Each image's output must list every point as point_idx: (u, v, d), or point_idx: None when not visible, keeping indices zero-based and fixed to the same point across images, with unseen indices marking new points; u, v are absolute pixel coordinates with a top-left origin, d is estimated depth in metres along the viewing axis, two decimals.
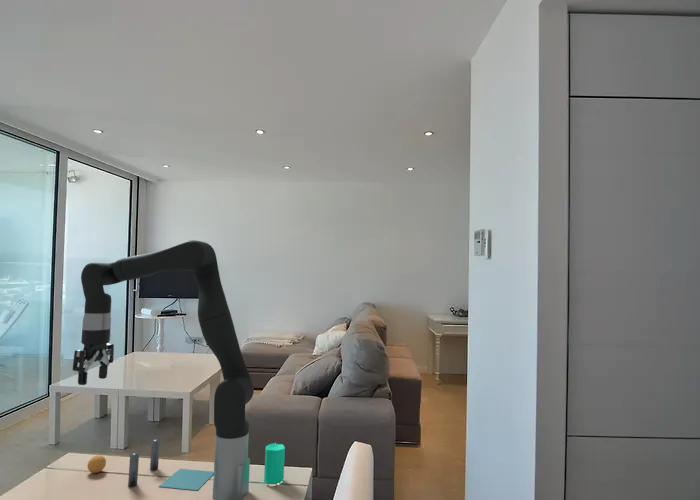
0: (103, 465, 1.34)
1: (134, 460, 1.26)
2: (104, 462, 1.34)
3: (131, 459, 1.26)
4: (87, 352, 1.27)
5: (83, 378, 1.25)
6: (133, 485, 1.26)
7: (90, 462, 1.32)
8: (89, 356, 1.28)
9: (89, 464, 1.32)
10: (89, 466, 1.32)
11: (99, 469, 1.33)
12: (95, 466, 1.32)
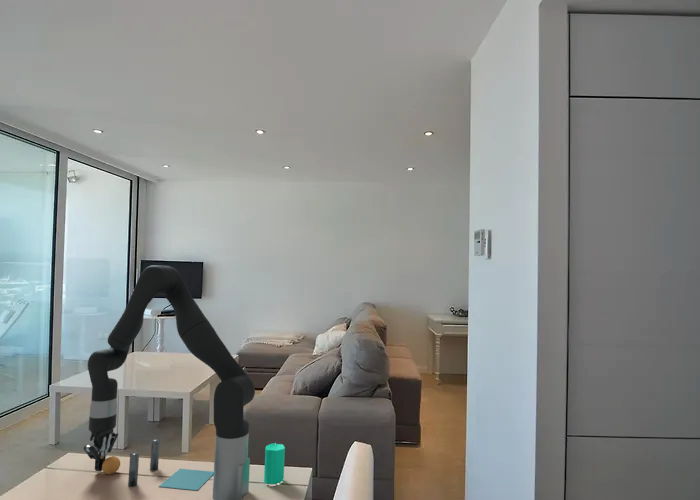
0: None
1: (134, 460, 1.26)
2: None
3: (131, 459, 1.26)
4: (95, 442, 1.31)
5: (99, 465, 1.33)
6: (133, 485, 1.26)
7: (110, 466, 1.31)
8: (99, 446, 1.32)
9: (108, 465, 1.31)
10: (106, 466, 1.31)
11: (104, 472, 1.32)
12: (106, 472, 1.31)
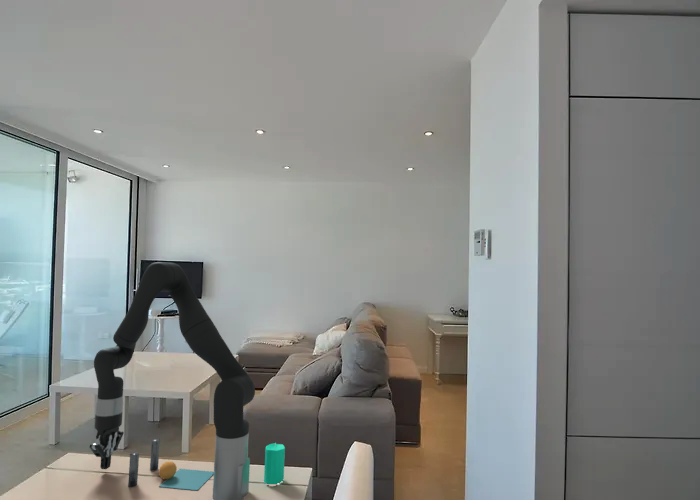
0: None
1: (134, 460, 1.26)
2: None
3: (131, 459, 1.26)
4: (101, 440, 1.31)
5: (105, 463, 1.33)
6: (133, 485, 1.26)
7: (167, 476, 1.29)
8: (104, 444, 1.32)
9: (167, 475, 1.29)
10: (165, 473, 1.29)
11: (159, 469, 1.30)
12: (160, 475, 1.29)
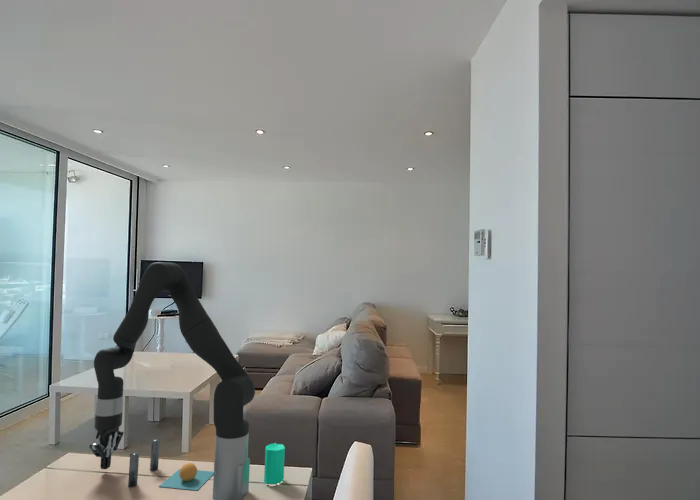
0: (194, 467, 1.30)
1: (134, 460, 1.26)
2: (193, 465, 1.31)
3: (131, 459, 1.26)
4: (101, 440, 1.31)
5: (105, 463, 1.33)
6: (133, 485, 1.26)
7: (180, 473, 1.29)
8: (104, 444, 1.32)
9: (181, 475, 1.29)
10: (182, 476, 1.28)
11: (192, 472, 1.29)
12: (186, 472, 1.28)
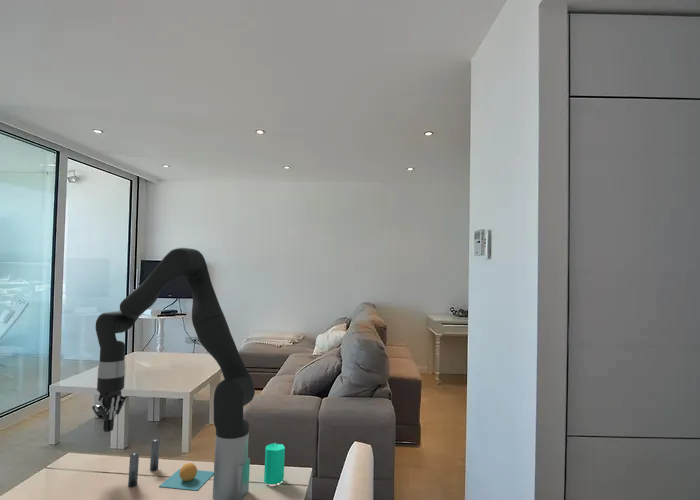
0: (194, 467, 1.30)
1: (134, 460, 1.26)
2: (193, 465, 1.31)
3: (131, 459, 1.26)
4: (104, 402, 1.31)
5: (108, 425, 1.33)
6: (133, 485, 1.26)
7: (180, 473, 1.29)
8: (107, 406, 1.33)
9: (181, 475, 1.29)
10: (182, 476, 1.28)
11: (192, 472, 1.29)
12: (186, 472, 1.28)
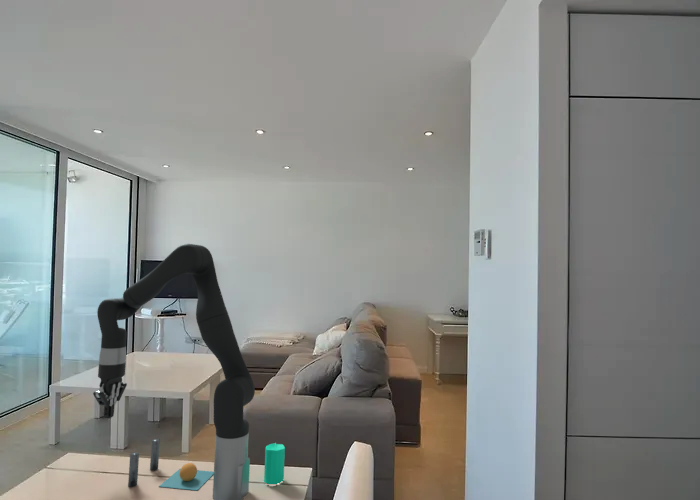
0: (194, 467, 1.30)
1: (134, 460, 1.26)
2: (193, 465, 1.31)
3: (131, 459, 1.26)
4: (105, 388, 1.32)
5: (109, 412, 1.34)
6: (133, 485, 1.26)
7: (180, 473, 1.29)
8: (108, 393, 1.33)
9: (181, 475, 1.29)
10: (182, 476, 1.28)
11: (192, 472, 1.29)
12: (186, 472, 1.28)
